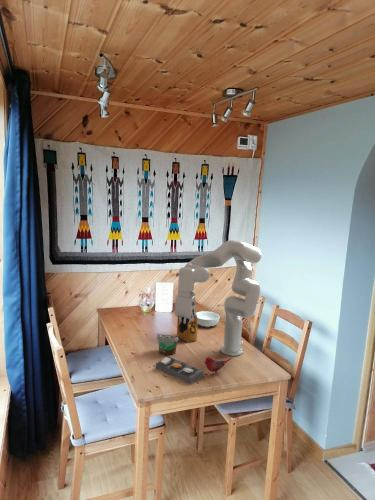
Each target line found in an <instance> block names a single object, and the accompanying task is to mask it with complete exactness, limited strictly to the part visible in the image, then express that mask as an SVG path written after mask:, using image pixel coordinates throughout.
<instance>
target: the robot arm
mask: <svg viewBox="0 0 375 500" xmlns="http://www.w3.org/2000/svg"><path fill="white" fill-rule="evenodd" d="M232 258H233V259H234V262H235V264H236V265H235V266H236V269H235V274H234V277H233V281H232V285H231V291H232V293H234V294H236V295H238V296H235V295H231V296H228V297H227V298H226V299H225V301H224V303H223V304H224V307H223V308H224V314H225V316H224V317H225V318H224V319H225V320H224V333H223V345H221V346H220V352H221V353H222V354H224V355H226V356H232V357H235V356H240V355H242V354H244V350H243V348H242V345H244V344H245V343H244V340H242V334H243V333H242V330H243V319H250V318H252V317H253V316H254V314H255V312H256V309H257V305H258V301H259V298H260V293H261V286H260V284H259V282H257V281H255V280H253V279H251V277H252V271H253V269H252V265H251V264H257V263H259V262H260V261H261V259H262V251H261V250H260V249H259V248H258V247H256V246H253V245H251V244H249V243H246V242H244V241H238V240H231V239H230V240H226V241H225V242H223V243H222V244H221V245H220V246H218V247H217V248H216V249H214V250H213V251H212V252H209V253H205V254H202V255H198V256H196V257H195V258H193V259H191V260H190V261H189V262H187V263H186V264H185V265H184V267H183V266H182V267H180V268H179V270H178V281H177V282H178V287H177V295H176V297H175V302H174V314H175V316H174V317H177V319H178V318H179V321H180V322H181V324H180V330H181V331H186V330H187V327H188V322H189V321H194V317H195V316H196V313H197V304H196V303H197V302H196V297H195V296H196V293H195V283H201V284H202V283H205V282H208V280H209V279H210V278H211V277H210V276H211V272H210V270H209V269H210V268H218V267H219V268H220V267H222V266H223V265H224V264H226V263H227V262H229V261H230V260H231V259H232ZM239 295H240V296H242V297H239ZM243 297H245V298H243Z"/></svg>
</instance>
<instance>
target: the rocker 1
mask: <svg viewBox="0 0 375 500" xmlns="http://www.w3.org/2000/svg"><path fill="white" fill-rule="evenodd" d="M167 357H168V356H166V357H164V358H162V359H161V360H162V361H161V360H160V361H161V363H162V364H164V365H166V364H168V363H169V362H170V361H171V359H170V358H167Z"/></svg>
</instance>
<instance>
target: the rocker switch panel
mask: <svg viewBox="0 0 375 500" xmlns="http://www.w3.org/2000/svg"><path fill="white" fill-rule="evenodd" d="M166 357H167V358H170V359H171V361H170V362H169V363H168V364H166V365H164V364H162V363H161V361H162V360H163V359H161V360H159V361H157V362H155V369H156V370H157V371H161V372H163V373H164V374H167V375H169V376H172V377H174V378H176V379H178V380H179V381H182V382H184V383H186V384H189V385H192V384H193V383H195V382H197V381H199V380H200V379H202V378H203V377H204V370H202V369H200V368H198V367H197V366H193V365H192V364H188V363H186V362H184V361H181V360H179V359H176V358H174V357H171V356H166ZM175 363H178V364H180V365H182V367H179V368H176V367H174V366H172V364H175ZM184 368H190V369H192V370H194V371H193V372H190V373H188V372H185V371H183V369H184Z"/></svg>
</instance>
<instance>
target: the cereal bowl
mask: <svg viewBox="0 0 375 500" xmlns="http://www.w3.org/2000/svg"><path fill="white" fill-rule="evenodd" d="M196 315H197V323H198V325H199V326H200V327H203V326H206V327H205V328H211V327H210V326H212V327H215V326H216V325H218V324H219V321H220V318H221V317H220V315H219V314H218V313H216V312H215V311H214V312H213V311H207V310H204V311H198V312H197V311H196Z"/></svg>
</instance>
